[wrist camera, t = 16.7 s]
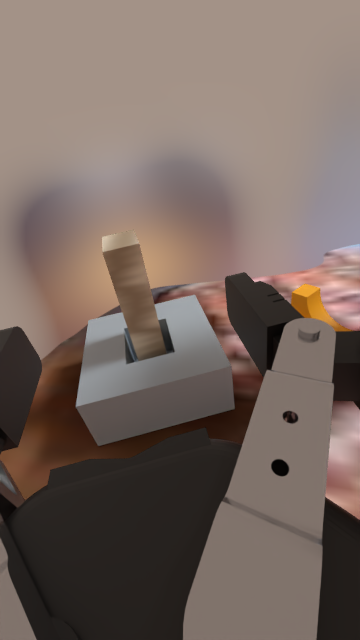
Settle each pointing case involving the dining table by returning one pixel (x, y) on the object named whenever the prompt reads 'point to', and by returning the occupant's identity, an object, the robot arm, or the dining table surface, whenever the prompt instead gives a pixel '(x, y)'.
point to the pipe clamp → (313, 305)
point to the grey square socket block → (152, 375)
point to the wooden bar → (134, 293)
